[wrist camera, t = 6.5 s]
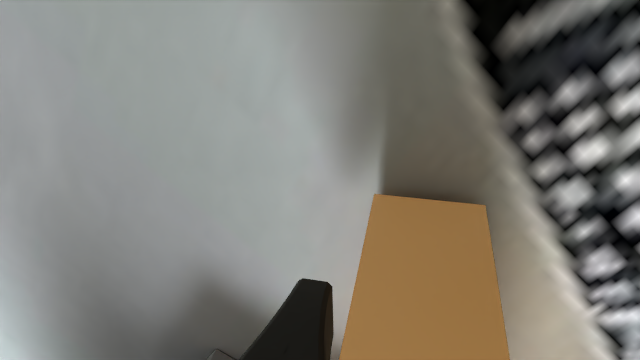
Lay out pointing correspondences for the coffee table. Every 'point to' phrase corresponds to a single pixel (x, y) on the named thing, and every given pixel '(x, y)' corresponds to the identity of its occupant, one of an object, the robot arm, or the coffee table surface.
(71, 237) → the coffee table surface
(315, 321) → the robot arm
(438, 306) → the tan l-shaped bracket
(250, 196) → the coffee table surface
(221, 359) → the block
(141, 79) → the coffee table surface
